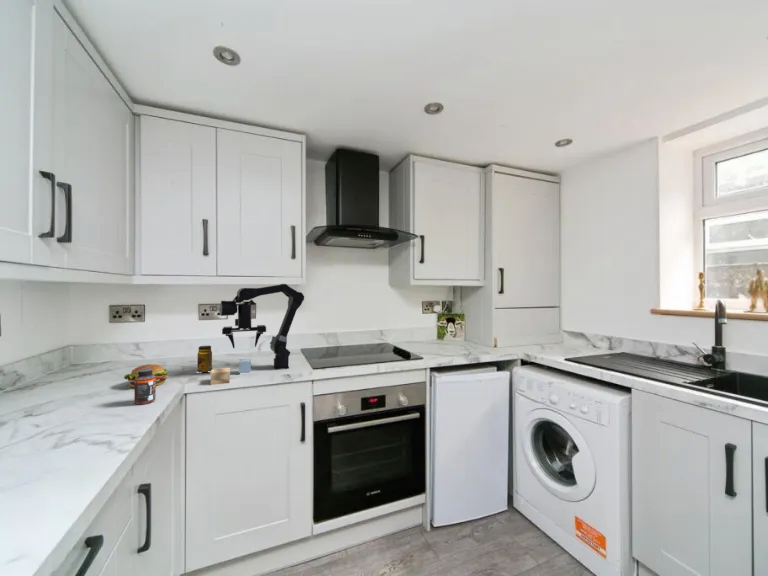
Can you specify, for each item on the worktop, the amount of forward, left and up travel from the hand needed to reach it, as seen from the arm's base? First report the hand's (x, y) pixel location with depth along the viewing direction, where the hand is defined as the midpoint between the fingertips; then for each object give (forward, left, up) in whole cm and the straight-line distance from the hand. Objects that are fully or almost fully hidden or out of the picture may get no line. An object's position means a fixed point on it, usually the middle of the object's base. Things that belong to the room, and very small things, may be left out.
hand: (244, 347), depth 150 cm
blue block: (0, 0, -12) cm, 12 cm away
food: (+37, +4, -12) cm, 39 cm away
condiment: (+17, -10, -12) cm, 23 cm away
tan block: (+9, +11, -12) cm, 19 cm away
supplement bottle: (+32, +28, -12) cm, 44 cm away
